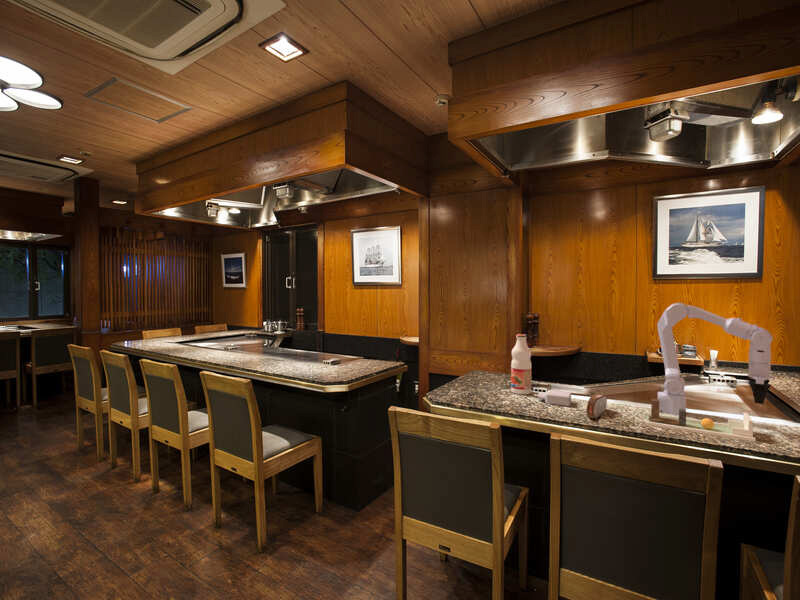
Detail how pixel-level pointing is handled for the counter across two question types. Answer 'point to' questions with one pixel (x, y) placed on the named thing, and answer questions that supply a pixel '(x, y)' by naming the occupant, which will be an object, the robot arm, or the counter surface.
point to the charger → (556, 397)
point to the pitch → (730, 430)
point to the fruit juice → (521, 366)
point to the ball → (707, 423)
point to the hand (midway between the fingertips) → (758, 401)
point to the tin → (596, 405)
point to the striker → (656, 418)
